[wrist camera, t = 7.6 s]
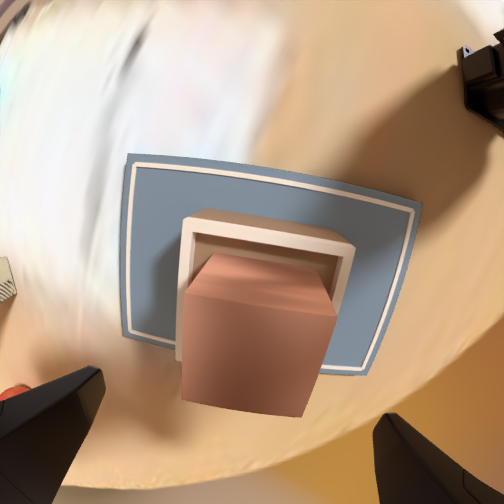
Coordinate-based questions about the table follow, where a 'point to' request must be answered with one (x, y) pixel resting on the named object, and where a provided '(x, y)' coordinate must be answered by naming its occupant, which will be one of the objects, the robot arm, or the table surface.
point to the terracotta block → (254, 335)
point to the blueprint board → (265, 200)
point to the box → (6, 280)
